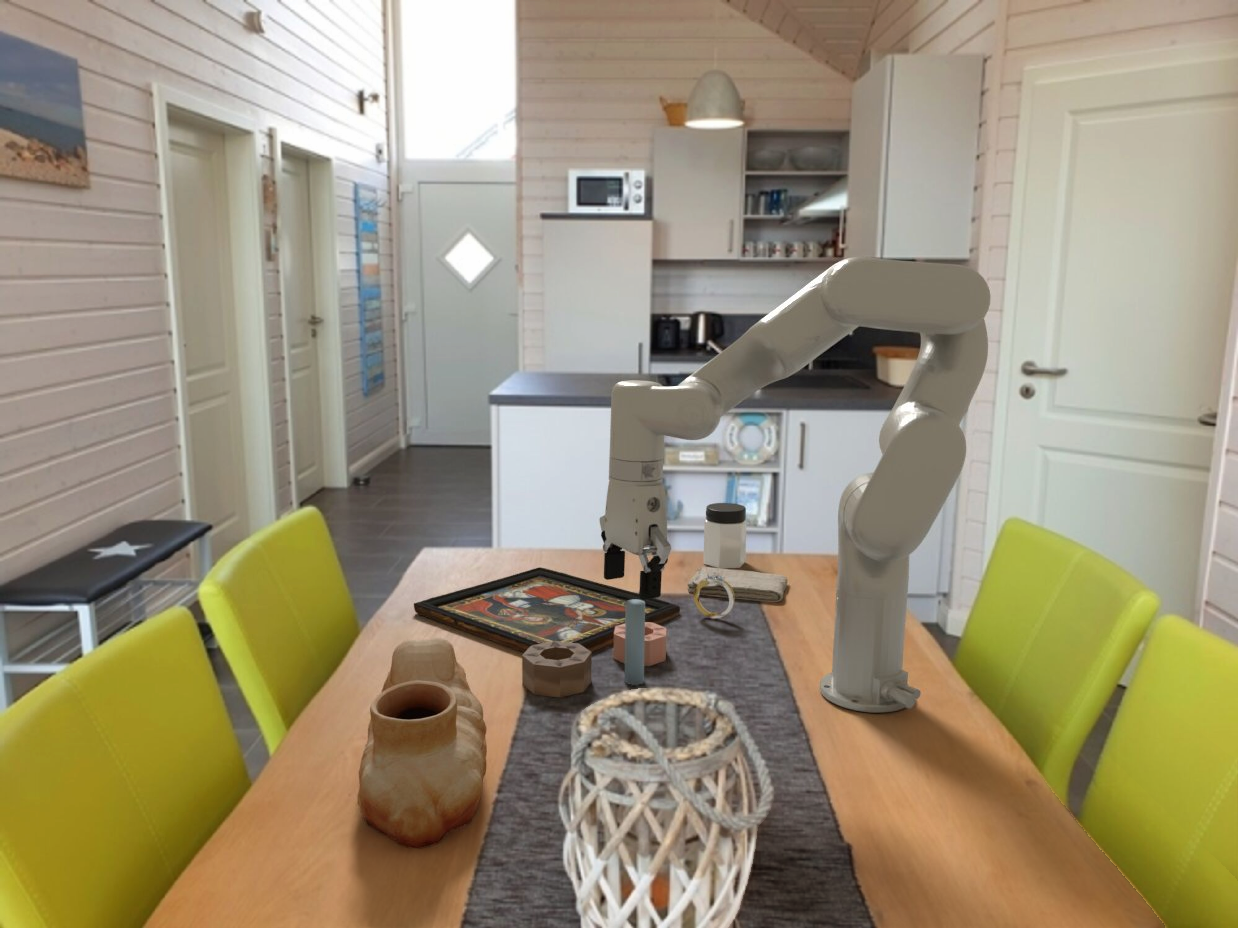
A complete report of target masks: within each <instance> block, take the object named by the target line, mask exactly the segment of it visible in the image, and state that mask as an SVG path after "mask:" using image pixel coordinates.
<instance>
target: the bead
mask: <svg viewBox="0 0 1238 928" xmlns="http://www.w3.org/2000/svg"><path fill="white" fill-rule="evenodd" d="M521 656H522V657H521V661H522V662H521V664H522V665H521V670H522V671H521V673H522V674H521V675H522V677H521V678H522V686H523V687H524V688H525V689H527V690H528V691H529V692H530V693H531V694H533V695H535V696H543V697H552V698H558V699H559V698H560V699H561V698H564V697H568V696H573V695H578V694H580V693H585V692H586V690H587V688H588V687H589V686H590V684H591V683H592V652H591V651H589V650H588V649H586V648H585V647H583V646H582V645H580V644H579V643H569V642H559V641H552V642H547V643H542V644H537V645H532V646H530V647H529V648H528V649H527V651H526V652H525V653H524V652H523V654H522V655H521Z"/></svg>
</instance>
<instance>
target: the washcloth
mask: <svg viewBox="0 0 1238 928" xmlns="http://www.w3.org/2000/svg"><path fill="white" fill-rule="evenodd" d="M695 571H696V572H695V574H694V575H693V576H692V578H691V579H690V581H689V582H688V583H687V592H689V593H690V594H694V590H695V588H696V587H697V586H698V584H699V583H700V581H702V580H703V579H704V578H706V577H707V574H709V576H712V575H713V573H714V572H715V573H716V575H718V574H720V575H719V576H721V575H722V579H723V577H725V580H724V581H726V582H727V583H728V584H729V585H730V586H731V587H732V589H733V591H734V596H735V599H737V600H748V601H757V602H769V603H778V602H781V601H782V600H783V598H784V592H785V590H786V589H787V586H788V585H787V584H788V582H789V581H788V578H787V577H786V576H784V575H782V574H776V573H769V572H767V573H764V572H759V571H752V570H743V569H742V570H741V569H733V568H727V569H722V568H721V569H720V568H715V567H711V566H704V567H703V566H702V567H701V568H698V569H696V570H695ZM700 595H701V596H708V597H709V596H710V597H715V598H716V597H717V598H726V599H729V596H728V593H727V590H726V589H725V588H724V587H723V586H722V585H720V584H718V583H715V584H712V583H709V585H706V586H704V587H702V588H701V589H700V591H699V596H700Z"/></svg>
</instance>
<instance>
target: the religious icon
mask: <svg viewBox="0 0 1238 928" xmlns="http://www.w3.org/2000/svg"><path fill="white" fill-rule="evenodd" d="M632 599H638V600H642V599H640V597H639V593H638V592H634V591H630V590H627V589H622V588H619V587H616V586H611V585H607V584H604V583H600V582H597V581H592V580H589V579H587V578H586V579H585V578H582V577H579V576H575V575H571V574H568V573H565V572H562V571H561V572H559V571H556V570H553V569H549V568H545V567H535V568H532V569H529V570H526V571H523V572H519V573H515V574H511V575H509V576H505V577H502V578H499V579H495V580H492V581H487V582H485V583H481V584H478V585H474V586H470V587H466V588H462V589H460V590H455V591H452V592H449V593H445V594H441V595H438V596H434V597H431V598H430V597H429V598H427V599H424V600H422V601H418V602H414V603H413V608H414V611H415V613H416V614H417V615H420V616H423V617H425V618H427V619H428V618H429V619H431V620H434V621H436V622H439V623H441V624H443V625H446V626H450V627H453V628H455V629H457V630H461V631H463V632H466V633H468V634H472V635H473V636H474V635H475V636H478V637H481V638H484V639H486V640H489V641H492V642H494V643H496V644H498V645H502V646H505V647H507V648H511V649H513V650H516V651H519V652H522V653H523V654H524V653H525V652H526V651H527V649H528V648H529V647H530V646H532V645H537V644H542V643H547V642H552V641H559V642H569V643H579V644H580V645H582V646H583V647H585V648H586V649H588V650H589V651H591V653H593V652H595V651H597V650H600V649H603V648H605V647H607V646H609V645H612V644H614V630H615V626H618V625H622V624H625V610H626V601H628V600H632ZM643 601H644V602H645V622H652V623H655V624H657V625H659V624H661V623H663V622H666V621H668V619H669V620H671V619H673V618H676V617H677V616H679V615H680V613H681V608H680V606H679V605H678V604H675V603H672V602H668V601H665V600H662V599H659V598H651V599H645V600H643Z"/></svg>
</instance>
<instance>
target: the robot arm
mask: <svg viewBox="0 0 1238 928" xmlns="http://www.w3.org/2000/svg"><path fill="white" fill-rule="evenodd" d="M990 291H991V290H990V287H989V285H988V283H987V281H986V279H985V278H984V277H983V275H982V274H980V273H979V272H978V271H976V269H974V268H971V267H969V266H966V265H963V264H953V263H940V262H939V263H938V262H923V261H913V260H912V261H911V260H910V261H908V260H897V259H889V258H887V259H885V258H879V257H869V256H854V257H849V258H845V259H842V260H840V261H838V262H836V263H834V264H833V265H831V266H830V267H829V268H827V269H826V270H825V271H823V272H822V273H821V274H819V275H818V276H817V277H815V278H814V279H813V280H812V281H810V282H809V283H808V284H807V283H806V285H805V286H803V287H802V288H801V289H800V290H798V291H796V292H795V293H794V294H793V295H792V296H790V297H789V298H787V300H785V301H784V302H782V303H781V304H780V305H778V306H777V307H776V308H774V309H773V310H772V311H770V312H769V313H768V314H766V315H765V316H764V317H762V318H761V319H759V321H758V322H756V323H754V324H753V325H752V326H751V327H750V328H749V329H747V331H745V333H743V334H742V335H741V336H740V337H739V338H738V339H737V340H735V341H734V342H733V343H732V344H730V345H729V346H728V347H726V348H725V349H723V350H722V351H721V352H720V353H718V354H716V355H715V356H714V357H713V358H711V359H710V360H709V361H708V362H706V363H705V364H704V365H702V366H701V367H700V368H698V369H697V370H695V372H693V373H692V374H690V375H689V376H687V377H686V378H685V379H684V380H683V381H681V382H679V384H677V385H675V386H664V385H662V383H660V382H655V381H652V380H651V381H650V380H639V379H638V380H636V379H634V380H633V379H632V380H622V381H621V380H620V381H619V382H617V383H615V384H614V386H613V387H612V391H611V396H610V397H611V398H610V399H611V401H610V405H611V406H610V425H609V426H610V427H609V428H610V430H609V431H610V432H609V433H610V434H609V435H610V438H609V455H608V459H609V460H608V463H609V464H608V465H609V466H608V467H609V468H608V484H607V485H608V486H607V491H606V492H607V493H606V499H605V500H606V502H605V510H604V511H605V512H604V513H605V514H604V515H602V516H600V518H599V525H600V531H601V534H600V537H601V539H602V542H603V544H602V551H603V552H604V555H603V556H604V559H603V560H604V561H603V578H604V579H605V580H607V581H609V580H615V579H621V578H624V577H625V565H626V564H625V563H626V551H627V552H629V553H631V554H633V555H636V556H638V558H639V561H640V563H641V567H642V570H640V573H639V593H638V594H639V597H640V599H642V600H645V599H651V598H656V599H658V598H660V596H661V595H662V572H663V571H665V566H666V564H667V563H668V562H669V561H668V560H669V555H670V554H671V550H672V545H671V544H670V542H669V541H668V507H667V506H668V505H667V504H668V503H667V497H666V496H667V494H666V490H665V484H664V483H663V480H664V479H663V474H664V457H665V456H664V455H665V454H664V453H665V451H664V450H665V437H671V438H676V439H680V440H687V441H699V440H702V439H705V438H707V437H709V436H711V434H713V433H714V432H715V430H716V429H717V428H718V426H719V424H720V421H721V418H722V417H723V416H724V415H726V414H727V413H728V412H729V411H732V410H733V408H735V407H737V406H738V405H739V404H741V402H743V401H745V400H746V399H747V398H748V397H750V396H752V395H753V394H755V393H756V392H758V391H760V390H761V389H762V388H764V387H766V386H768V385H770V384H773V383H775V382H777V381H780V380H783V379H787V378H788V377H790V376H792V375H793V374H796V373H798V372H799V371H800V370H803V368H804V367H806V366H807V365H809V364H810V363H811V362H813V361H814V360H815V359H816V358H817V357H819V356H820V355H822V354H823V353H824V352H826V351H828V350H829V349H830V348H831V347H832V346H834V345H835V344H837V343H838V342H839V341H841V340H842V339H843V338H845V337H846V336H848V335H849V334H850V333H852V332H853V331H855V330H856V329H858V328H859V327H863V328H870V329H877V330H879V329H880V330H886V331H887V330H889V331H898V332H899V331H900V332H908V333H909V332H911V333H913V332H914V333H919V334H920V348H919V352H918V356H917V358H916V361H915V364H914V366H913V368H912V370H911V372H910V374H909V376H908V379H907V381H906V382H905V384H904V387H903V388H902V391H900V393H899V396H898V397H897V400H896V401H895V403H894V405H893V407H892V409H891V410H890V412H889V414H888V416H887V417H886V419H885V420H884V422H883V424H882V427H881V428H880V431H879V435H878V437H879V438H878V443H879V445H878V446H879V449H880V451H881V453H882V455H881V458H880V460H879V461H878V463H877V466H876V467H875V469H874V471H873V472H867V473H864V474H861V475H859V476H856V477H855V478H854V479H853V480H851V481H850V482H849V483H848V484H847V485H846V487H845V488H844V490H843V491H842V494H841V496H840V499H839V504H838V512H837V513H838V514H837V528H838V529H837V531H838V533H837V535H838V537H837V538H838V541H837V543H838V545H837V548H838V549H837V550H838V552H837V576H836V577H837V578H836V593H835V613H834V614H835V615H834V628H833V629H834V631H833V632H834V633H833V649H832V668H831V672H829V673H828V674H826V675H824V676H823V677H821V679H820V682H819V691H820V693H821V695H822V696H823V697H824V698H825V699H826V700H828V701H829V702H831V703H832V704H834V705H837V706H839V707H842V708H845V709H847V710H852V711H856V712H857V711H858V712H863V713H873V714H874V713H876V714H877V713H878V714H879V713H880V714H881V713H882V714H884V713H891V712H897V711H900V710H903V709H905V708H907V709H909V710H910V709H912V708H913V707H914V706H915V704H916V701H917V700H918V699H919V698H920V696H921V690H920V689H918V688H916V687H914V686H911V685H909V684H908V678H909V672H908V671H907V670H904V669H903V662H904V647H905V635H906V620H907V619H906V618H907V606H908V594H909V593H908V592H909V579H910V556H911V554H912V553H914V551H915V550H917V548H918V547H920V545H921V544H922V543H923V541H924V540H925V538H926V537H927V535H928V534H929V532H930V530H931V528H932V526H933V525H934V523H935V522H936V519H937V517H938V516H939V514H940V512H941V510H942V508H943V506H944V504H945V503H946V501H947V499H948V497H949V496H950V494H951V492H952V490H953V488H954V486H955V484H956V483H957V481H958V479H959V477H960V475H961V473H962V469H964V468H963V467H964V465H965V461H966V457H967V456H966V455H967V442H966V437H965V434H964V431H963V430H962V428H961V426H960V424H961V422H962V420H963V418H964V416H965V415H966V412H967V411H968V409H969V406H970V405H971V402H972V400H973V398H974V395H975V394H976V391H977V389H978V387H979V386H980V383H981V381H982V377H983V375H984V372H985V370H986V369H985V368H986V366H987V361H988V356H989V337H988V330H987V326H986V322H985V321H986V320H985V318H986V316H987V313H988V312H989V310H990V309H989V308H990V305H991V292H990ZM648 556H652V558H651V559H650V560H649V558H648Z"/></svg>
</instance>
